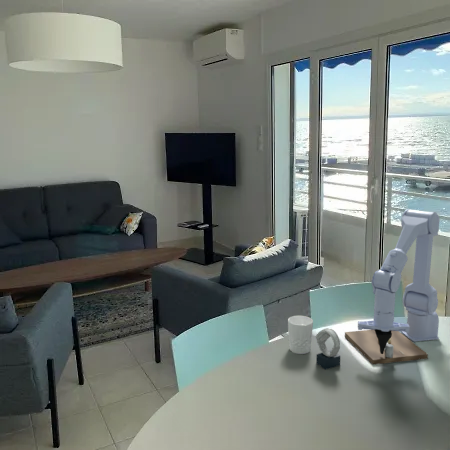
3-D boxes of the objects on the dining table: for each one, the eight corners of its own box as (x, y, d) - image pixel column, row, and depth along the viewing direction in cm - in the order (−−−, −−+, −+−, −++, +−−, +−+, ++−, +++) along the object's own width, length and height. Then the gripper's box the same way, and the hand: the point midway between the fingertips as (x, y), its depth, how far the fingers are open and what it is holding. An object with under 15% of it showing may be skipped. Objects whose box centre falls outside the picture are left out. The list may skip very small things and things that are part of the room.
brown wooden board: (393, 331, 164) (393, 327, 163) (427, 358, 144) (427, 353, 144) (344, 336, 160) (344, 331, 160) (372, 364, 141) (373, 359, 141)
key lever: (377, 338, 154) (377, 328, 154) (389, 339, 154) (390, 329, 153) (382, 357, 142) (382, 347, 141) (396, 358, 141) (396, 348, 140)
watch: (326, 356, 147) (327, 323, 144) (344, 367, 140) (345, 333, 137) (312, 360, 144) (312, 327, 142) (329, 372, 137) (330, 337, 135)
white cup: (285, 353, 149) (286, 323, 147) (289, 342, 156) (290, 314, 154) (310, 356, 147) (311, 326, 145) (313, 345, 154) (314, 316, 152)
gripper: (360, 313, 137) (358, 357, 140) (412, 316, 135) (409, 360, 137) (357, 305, 144) (355, 346, 147) (407, 307, 142) (404, 349, 144)
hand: (381, 352), depth 143 cm, fingers closed
